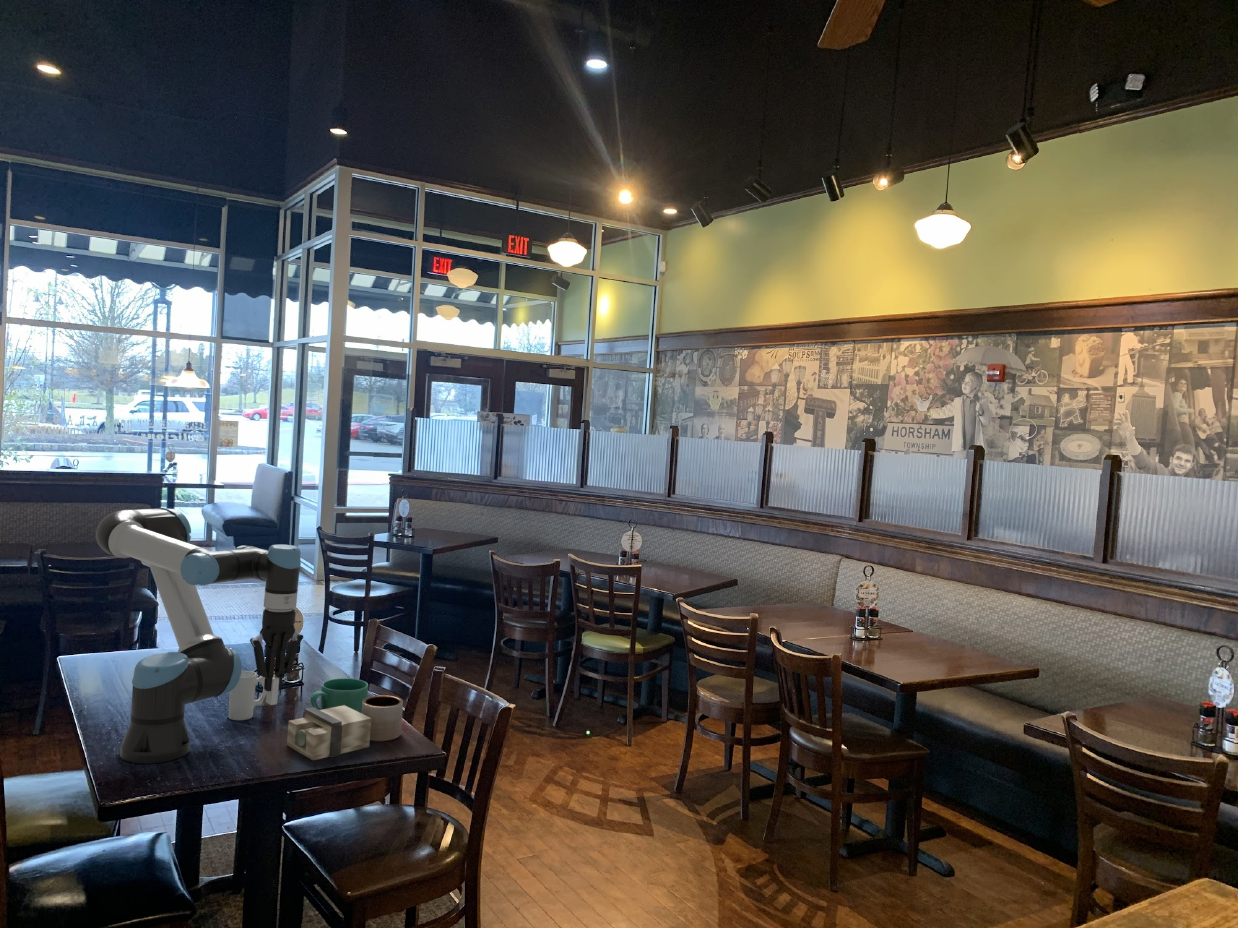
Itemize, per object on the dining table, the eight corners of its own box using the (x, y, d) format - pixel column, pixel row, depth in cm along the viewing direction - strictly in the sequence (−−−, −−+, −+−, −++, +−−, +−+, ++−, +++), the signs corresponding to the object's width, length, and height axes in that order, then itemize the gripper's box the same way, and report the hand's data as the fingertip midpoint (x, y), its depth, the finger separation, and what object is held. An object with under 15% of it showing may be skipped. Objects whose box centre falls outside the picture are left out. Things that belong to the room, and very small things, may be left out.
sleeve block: (314, 761, 215) (317, 727, 215) (284, 743, 225) (287, 711, 225) (371, 747, 227) (373, 715, 227) (340, 731, 237) (342, 700, 237)
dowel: (303, 747, 219) (304, 732, 219) (296, 743, 221) (297, 728, 221) (353, 736, 229) (354, 721, 229) (345, 732, 232) (346, 717, 232)
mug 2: (353, 707, 258) (355, 675, 258) (373, 719, 249) (376, 686, 249) (298, 716, 246) (301, 683, 246) (318, 729, 237) (320, 695, 237)
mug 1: (230, 721, 238) (233, 678, 237) (224, 714, 243) (227, 672, 243) (268, 717, 244) (271, 674, 243) (262, 710, 249) (265, 668, 249)
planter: (367, 727, 242) (369, 693, 242) (405, 730, 242) (408, 696, 242) (353, 740, 231) (356, 705, 231) (394, 744, 231) (396, 708, 231)
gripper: (261, 614, 206) (252, 712, 206) (312, 609, 215) (303, 702, 216) (246, 607, 210) (238, 703, 211) (297, 603, 220) (288, 694, 221)
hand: (271, 702), depth 214 cm, fingers closed
